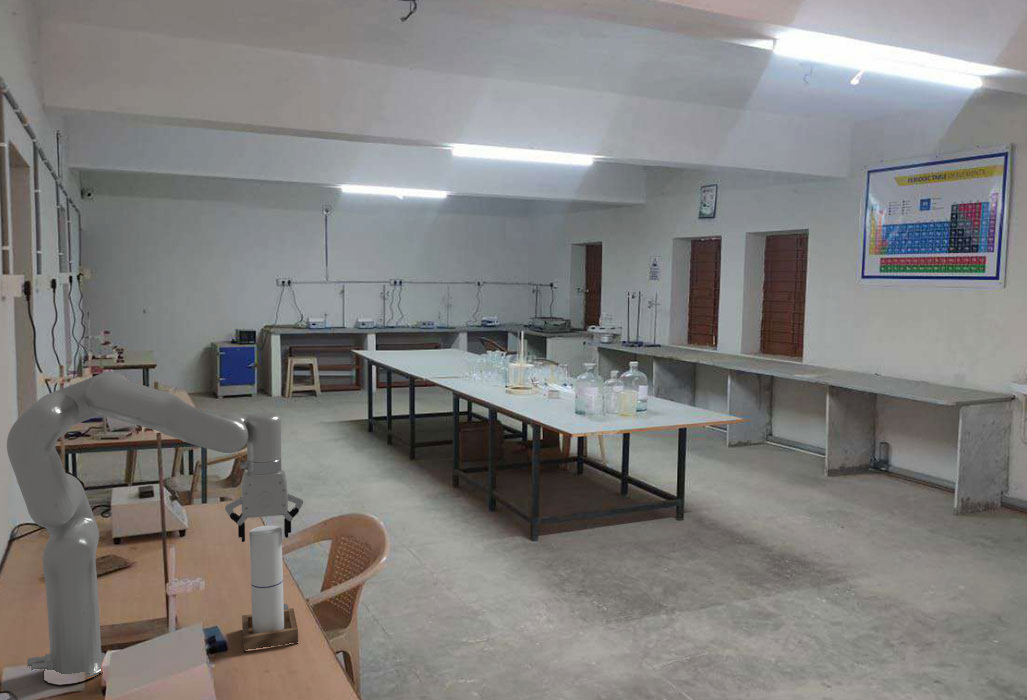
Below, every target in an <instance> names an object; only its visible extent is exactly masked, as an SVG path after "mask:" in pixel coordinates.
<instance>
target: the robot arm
mask: <svg viewBox="0 0 1027 700" xmlns="http://www.w3.org/2000/svg"><path fill="white" fill-rule="evenodd" d="M98 416H104V417H107V418H110V419H113V420H118V421H121V422H125V423H129V424H132V425H136V426H140V427H143V428H146V429H150V430H153V431H156V432H160V433H162V434H164V435H166V436H168V437H171V438H173V439H174V438H175V439H177V440H179V441H182V442H185V443H187V444H191V445H193V446H197V447H200V448H204V449H207V450H211V451H215V452H218V453H222V454H223V453H224V454H234V453H237V452H240V451H241V450H242V449H244V447H245V446H246V445H247V446H246V447H247V449H246V450H247V455H246V458H247V459H246V461H245V462H240V469H241V470H242V469H244V470H246V471H245V472H244V474H243V480H242V486H241V497H238V498H237V499H235V500H233V501H231V502H230V503H228V504H226V505H225V506H224V508H225V509H224V511H226V513H227V515H228V516H229V518H230V519H231V520H232V521H233V522H235V523H236V524H237V526H238V528H237V529H238V530H237V531H238V533H237V535H238V536H237V537H238V539H239V538H241V543H244V542H246V523H245V521H246V520H247V519H249V518H251V519H253V518H265V517H276V516H277V517H278V516H283V517H284V518H283V524H284V526H283V532H284V533H283V534H284V538H285V539H287V538H289V534H291V533H292V520H293V519H294V518H295V517H296V515H298V514H299V512H300V510H301V508H302V507H303V504H304V500H303V499H302V498H299V497H297V496H295V495H292V494H291V493H288V482H287V475H286V471H285V470H284V469H282V418H281V417H280V415H278V414H277V413H273V412H257V413H252V414H251V413H250V414H249V413H239V412H224V413H222V414H219V415H215V414H213V413H209V412H206V411H204V410H202V409H201V410H200V409H199V408H196V407H195V406H192V405H190V404H188V403H187V402H185V401H184V400H183V399H181V398H180V397H178V396H176V395H175V394H173V393H171V392H167V391H165V390H164V391H163V390H160V389H156V388H153V387H150V386H145V385H143V384H140V383H137V382H133V381H130V380H128V378H126V376H124V375H123V374H121V373H119V372H115V371H104V372H102V373H99V374H97V375H94V376H92V377H89V378H87V379H84V380H82V381H79V382H76V383H74V384H71V385H68V386H66V387H63V388H60V389H58V390H55V391H52V392H49V393H47V394H45V395H43V396H42V397H41V398H39V399H38V400H37V401H36V402H34V404H32V405H31V406H29V408H28V409H26V411H25V412H23V413H22V414H21V415H20V416H19V417H18V418H17V419H16V421H15V422H14V423H13V425H12V426H11V427H10V430H9V432H8V434H7V438H6V439H7V440H6V450H7V456H8V459H9V462H10V465H11V467H12V470H13V473H14V475H15V478H16V482H17V484H18V485H17V486H18V487H19V490H20V492H21V495H22V498H23V500H24V503H25V506H26V509H27V512H28V515H29V516H30V519H32V521H33V523H35V524H36V525H38V526H39V527H42V528H45V529H46V531H47V533H48V536H49V537H48V539H47V542H46V544H45V546H44V550H43V554H42V571H43V578H44V582H45V592H46V607H47V620H48V639H49V653H45V654H44V655H41V656H33V657H29V658H27V663H26V664H27V665H26V666H27V667H28V666H31V667H30V669H31V671H32V670H33V669H40V670H44V669H47V670H55V671H56V672H59V673H61V674H72V673H74V674H75V673H80V672H86V674H89V675H86V676H85V677H90V676H94V675H96V674H99V673H100V671H101V663H102V661H103V658H104V656H105V654H106V653H105V652H102V641H101V625H100V623H101V622H100V621H101V620H100V605H99V589H98V588H99V587H98V575H97V563H96V560H97V559H96V556H97V551H98V550H97V549H98V544H99V541H100V530H99V526H98V523H97V520H96V517H95V515H94V513H93V510H92V507H91V505H90V502H89V499H88V496H87V494H86V492H85V489H84V487H83V485H82V483H81V482H80V480H79V479H78V478H77V477H75V476H73V475H72V474H70V473H67V472H66V470H65V469H64V465H63V462H62V459H61V457H60V454H59V453H58V451H57V448H56V445H57V441H58V440H59V439H60V438H61V437H63V436H64V435H66V433H68V432H69V430H70V429H71V428H72V427H73V426H75V425H78V424H79V423H83V422H85V421H87V420H91V419H92V418H95V417H98ZM289 502H291V503H293V504H295V505H294V507H292V509H291V510H290V511H289V510H288V508H289ZM239 506H241V513H240V514H237V513H236V512H235V511H234V509H235V508H237V507H239Z"/></svg>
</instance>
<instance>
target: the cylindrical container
mask: <svg viewBox="0 0 1027 700" xmlns="http://www.w3.org/2000/svg"><path fill="white" fill-rule="evenodd" d="M282 533H283V532H282V527H281V526H278V525H273V524H272V525H261V526H256V527H254V528H252V529H250V530H249V555H250V558H249V559H250V562H249V563H250V587H251V588H250V589H251V591H250V592H251V614H252V627H253V634H256V633H262V632H269V631H275V630H281V629H284V604H285V603H284V580H283V579H284V574H283V571H284V570H283V569H284V568H283V566H284V565H283V540H282V539H283V538H282V537H283V535H282Z"/></svg>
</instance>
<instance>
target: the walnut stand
mask: <svg viewBox="0 0 1027 700" xmlns="http://www.w3.org/2000/svg"><path fill="white" fill-rule="evenodd" d="M241 620H242V622H241V625H242V626H241V628H242V629H243V630H242V642H243V643H242V645H243V646H242V647H244V648H243V651H244V650H248V649H256V648H263V647H271V646H278V645H285V644H289V643H297V642H298V643H299V628H298V624H297V619H296V614H295V609H294V608H293V607H292V608H290V607H289V608H288V609H284V629H281V630H275V631H269V632H262V633H256V634H253V627H252V613H249V614H243V615H241Z"/></svg>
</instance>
